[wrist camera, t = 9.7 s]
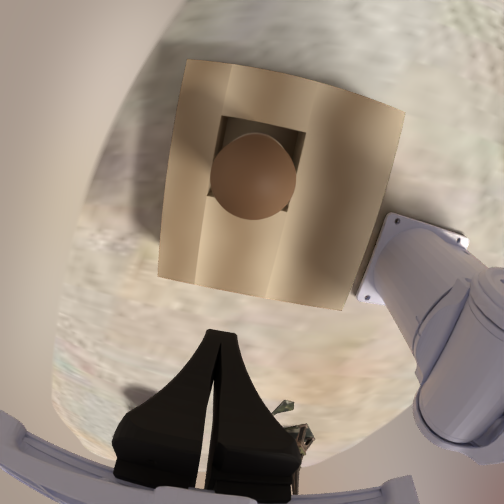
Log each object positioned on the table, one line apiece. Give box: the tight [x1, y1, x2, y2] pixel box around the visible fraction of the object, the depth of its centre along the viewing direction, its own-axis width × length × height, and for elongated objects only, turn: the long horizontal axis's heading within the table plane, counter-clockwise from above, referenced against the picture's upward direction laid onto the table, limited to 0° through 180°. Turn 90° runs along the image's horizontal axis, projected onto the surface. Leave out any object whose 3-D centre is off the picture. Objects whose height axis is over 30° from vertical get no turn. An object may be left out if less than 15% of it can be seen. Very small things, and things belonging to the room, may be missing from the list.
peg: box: [210, 132, 296, 220], centre depth 16 cm, size 4×4×8 cm
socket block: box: [158, 59, 406, 311], centre depth 19 cm, size 13×14×4 cm
